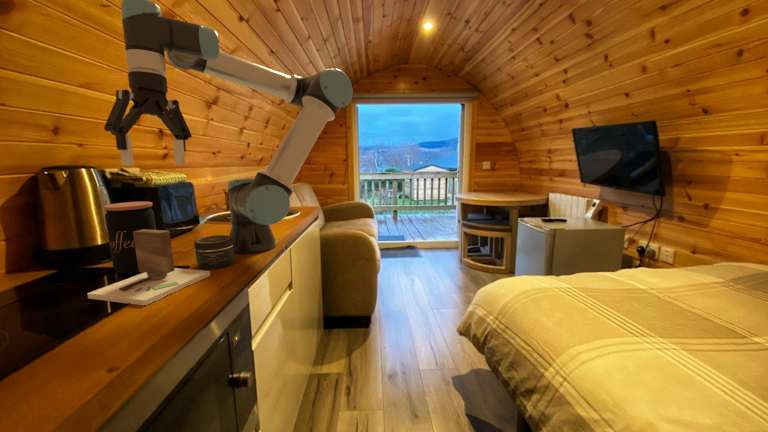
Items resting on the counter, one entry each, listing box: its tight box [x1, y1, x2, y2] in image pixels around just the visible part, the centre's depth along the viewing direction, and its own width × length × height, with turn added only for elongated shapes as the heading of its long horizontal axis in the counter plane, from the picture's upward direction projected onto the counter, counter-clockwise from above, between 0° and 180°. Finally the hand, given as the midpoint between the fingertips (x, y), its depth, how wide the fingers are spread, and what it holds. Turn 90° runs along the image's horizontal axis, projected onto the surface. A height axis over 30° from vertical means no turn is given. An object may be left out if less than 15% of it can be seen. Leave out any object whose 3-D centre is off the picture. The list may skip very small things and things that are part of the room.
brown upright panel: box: [119, 229, 175, 291], centre depth 77 cm, size 11×8×12 cm
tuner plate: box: [87, 267, 211, 306], centre depth 80 cm, size 18×16×1 cm
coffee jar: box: [103, 201, 157, 274], centre depth 92 cm, size 11×11×18 cm
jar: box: [193, 234, 235, 271], centre depth 94 cm, size 10×10×8 cm
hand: (156, 165), depth 81 cm, fingers open, 13 cm apart
